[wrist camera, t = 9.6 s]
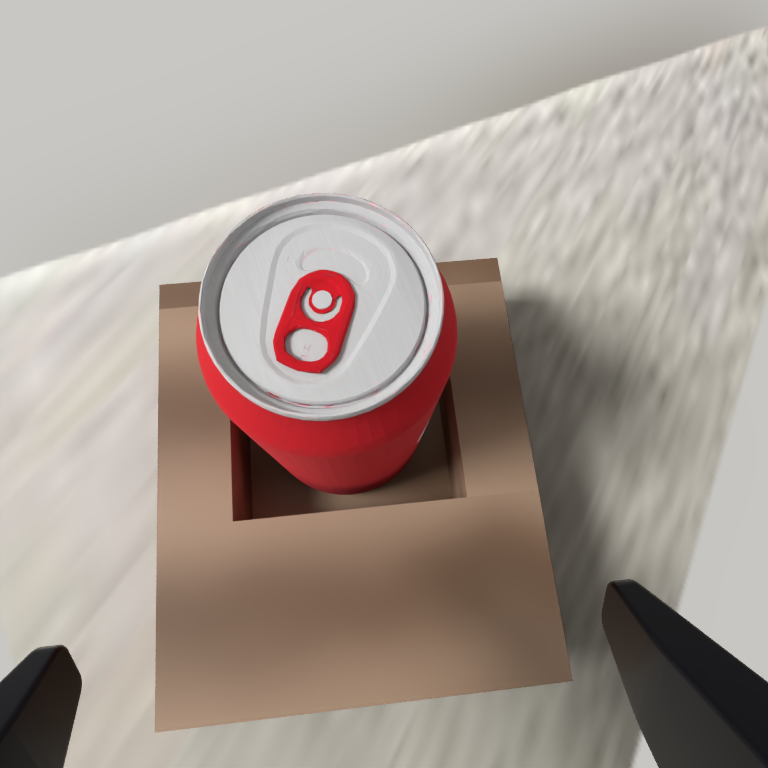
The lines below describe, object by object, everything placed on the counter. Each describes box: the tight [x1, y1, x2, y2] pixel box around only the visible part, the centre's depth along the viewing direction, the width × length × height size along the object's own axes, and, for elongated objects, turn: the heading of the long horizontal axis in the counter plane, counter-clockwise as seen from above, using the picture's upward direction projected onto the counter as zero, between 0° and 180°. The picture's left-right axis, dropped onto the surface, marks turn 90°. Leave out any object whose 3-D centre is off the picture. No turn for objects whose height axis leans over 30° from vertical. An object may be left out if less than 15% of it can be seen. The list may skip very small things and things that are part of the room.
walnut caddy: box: [155, 258, 572, 732], centre depth 21 cm, size 15×13×4 cm
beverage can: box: [196, 193, 457, 495], centre depth 17 cm, size 6×6×12 cm
